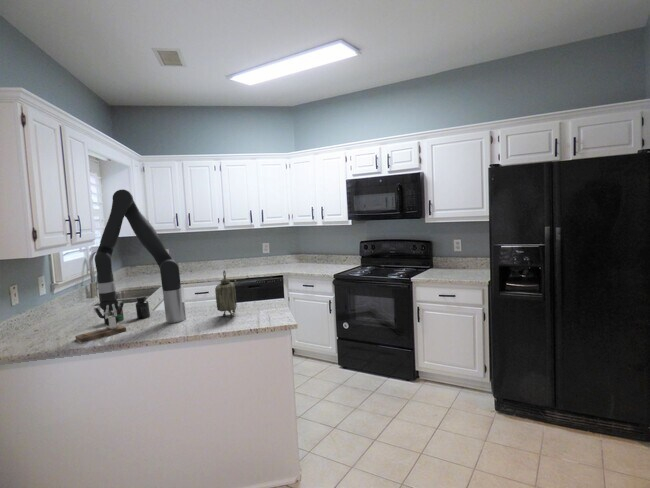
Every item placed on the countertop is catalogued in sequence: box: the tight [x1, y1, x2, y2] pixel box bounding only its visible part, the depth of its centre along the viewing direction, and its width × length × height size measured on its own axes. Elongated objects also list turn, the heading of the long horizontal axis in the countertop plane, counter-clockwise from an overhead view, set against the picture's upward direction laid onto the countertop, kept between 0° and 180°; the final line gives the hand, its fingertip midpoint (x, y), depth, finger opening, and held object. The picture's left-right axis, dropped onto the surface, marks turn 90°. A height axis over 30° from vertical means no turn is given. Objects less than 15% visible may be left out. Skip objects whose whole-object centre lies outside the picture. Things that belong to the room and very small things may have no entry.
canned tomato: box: [108, 300, 125, 323], centre depth 217 cm, size 8×8×11 cm
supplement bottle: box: [135, 295, 151, 320], centre depth 221 cm, size 7×7×12 cm
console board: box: [74, 324, 127, 344], centre depth 191 cm, size 20×9×2 cm, turn 138°
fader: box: [105, 316, 118, 330], centre depth 195 cm, size 3×7×6 cm, turn 48°
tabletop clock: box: [214, 269, 238, 319], centre depth 209 cm, size 14×9×25 cm, turn 9°
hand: (111, 324), depth 195 cm, fingers closed on fader, 3 cm apart
